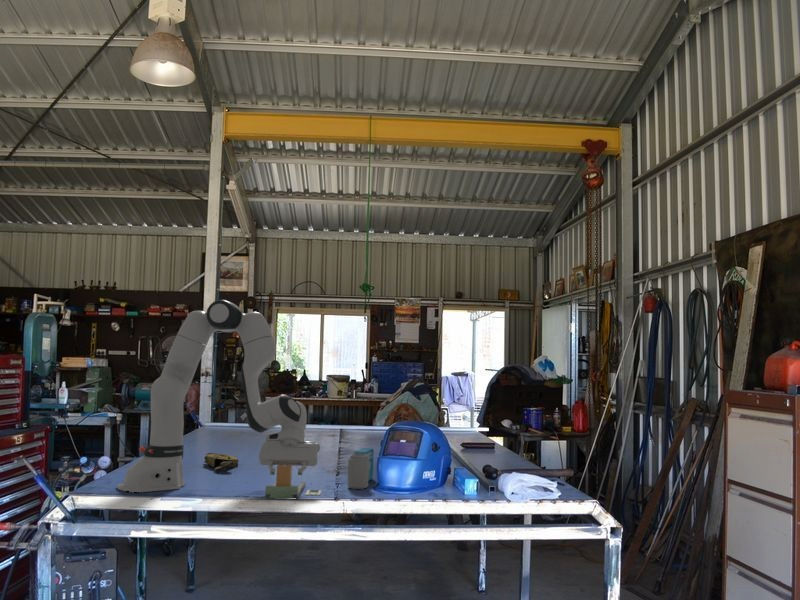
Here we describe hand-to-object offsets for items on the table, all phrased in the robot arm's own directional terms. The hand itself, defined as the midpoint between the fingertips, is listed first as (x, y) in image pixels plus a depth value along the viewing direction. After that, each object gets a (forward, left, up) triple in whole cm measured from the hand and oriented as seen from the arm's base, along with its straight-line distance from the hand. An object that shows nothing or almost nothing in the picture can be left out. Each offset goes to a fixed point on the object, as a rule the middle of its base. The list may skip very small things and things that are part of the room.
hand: (286, 474), depth 225 cm
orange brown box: (-1, -1, -7) cm, 7 cm away
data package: (+40, +2, -7) cm, 41 cm away
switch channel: (+6, +2, -7) cm, 9 cm away
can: (+28, -7, -7) cm, 30 cm away
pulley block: (+16, +61, -7) cm, 64 cm away
